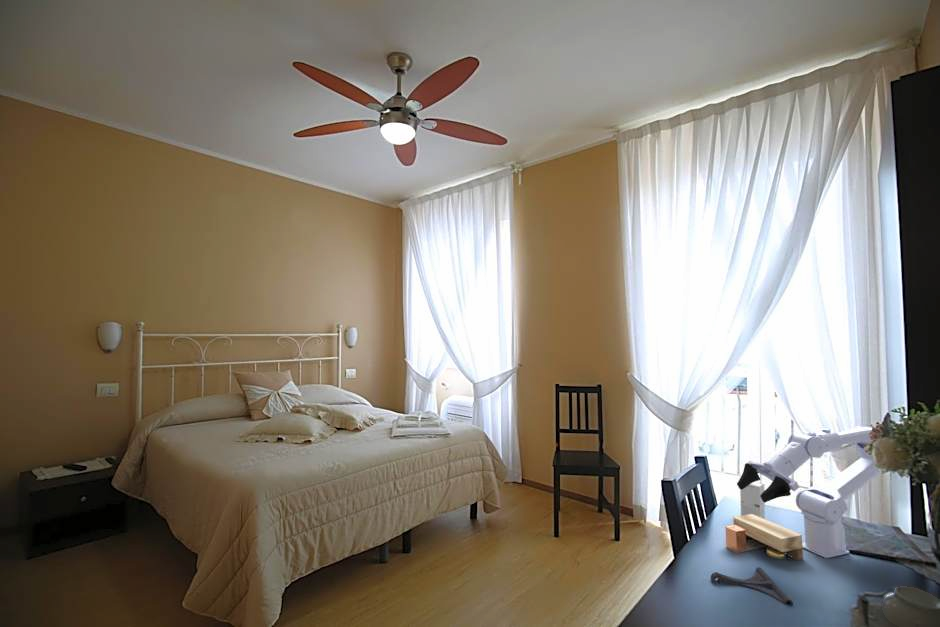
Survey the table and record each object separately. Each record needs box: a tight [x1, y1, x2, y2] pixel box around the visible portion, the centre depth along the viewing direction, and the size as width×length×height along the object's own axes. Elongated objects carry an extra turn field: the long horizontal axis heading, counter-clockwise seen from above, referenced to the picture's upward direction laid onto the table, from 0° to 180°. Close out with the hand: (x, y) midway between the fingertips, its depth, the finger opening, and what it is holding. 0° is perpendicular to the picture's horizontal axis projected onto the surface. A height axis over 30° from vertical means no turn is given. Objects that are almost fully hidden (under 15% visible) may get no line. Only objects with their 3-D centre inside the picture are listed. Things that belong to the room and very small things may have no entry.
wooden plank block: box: [732, 514, 804, 561], centre depth 124 cm, size 8×15×6 cm, turn 17°
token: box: [765, 546, 786, 560], centre depth 120 cm, size 4×4×2 cm
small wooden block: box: [724, 524, 767, 554], centre depth 125 cm, size 11×4×6 cm, turn 107°
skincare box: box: [739, 481, 766, 520], centre depth 144 cm, size 6×4×12 cm
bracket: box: [710, 566, 794, 606], centre depth 106 cm, size 14×15×3 cm
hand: (750, 492), depth 120 cm, fingers open, 7 cm apart
